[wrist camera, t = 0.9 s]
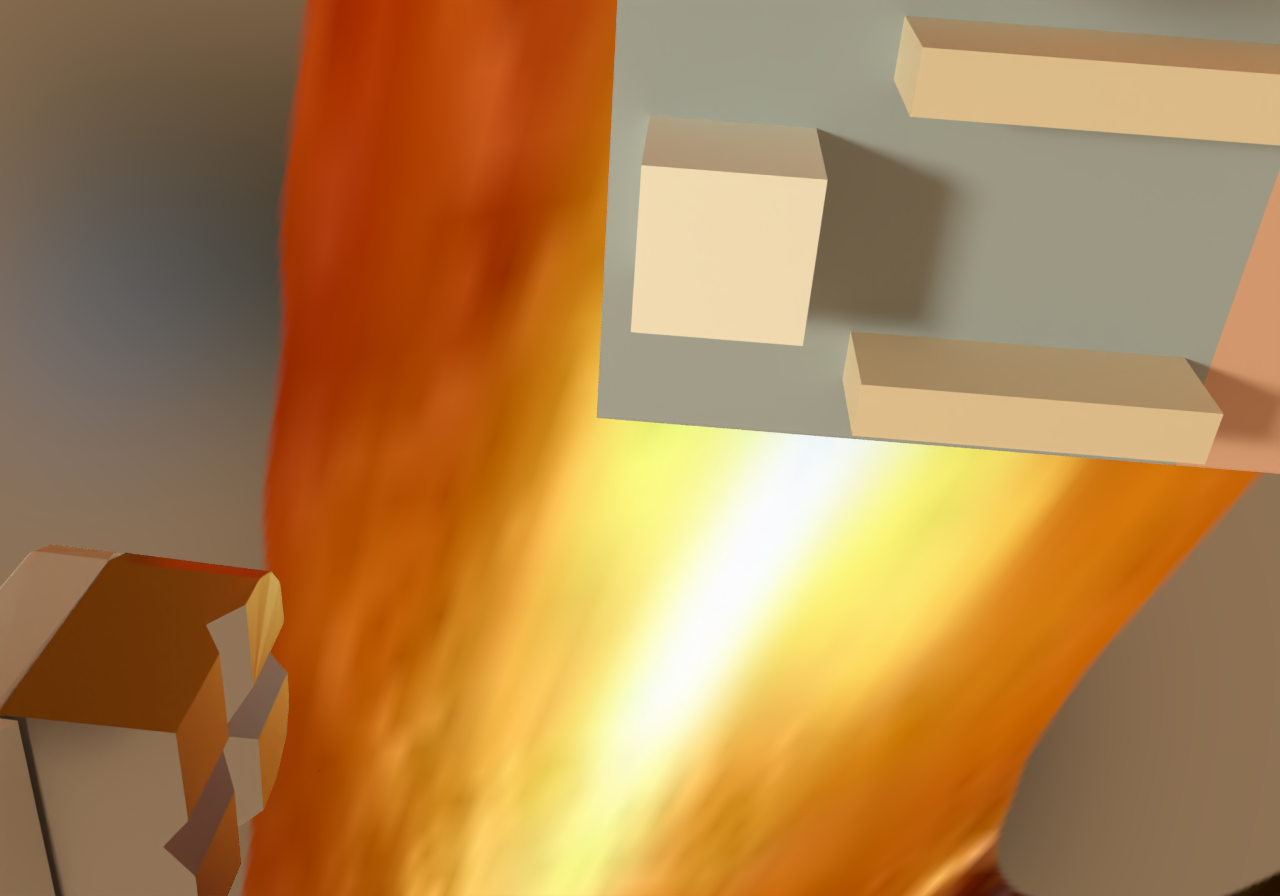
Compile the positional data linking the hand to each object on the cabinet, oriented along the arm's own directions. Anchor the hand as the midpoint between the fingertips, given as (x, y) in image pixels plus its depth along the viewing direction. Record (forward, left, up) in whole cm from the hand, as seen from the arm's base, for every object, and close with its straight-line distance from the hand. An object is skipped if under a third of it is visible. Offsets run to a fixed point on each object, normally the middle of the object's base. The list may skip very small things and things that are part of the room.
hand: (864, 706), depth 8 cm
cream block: (+9, 0, -34) cm, 35 cm away
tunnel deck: (+9, +14, -36) cm, 40 cm away
